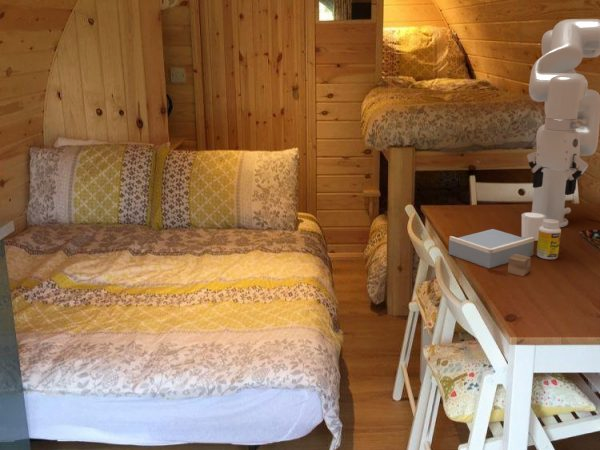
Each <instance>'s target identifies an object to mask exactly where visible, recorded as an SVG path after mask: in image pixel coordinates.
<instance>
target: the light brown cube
mask: <svg viewBox="0 0 600 450" xmlns="http://www.w3.org/2000/svg"><path fill="white" fill-rule="evenodd" d="M531 258H532V257H531V256H528V257H527V256H522V255H518V254H515V255H513V256H511V257H510V258H509V263H507V264H508V265H507V267H508V268H507V274H512V275H517V276H520V277H524V276H526V275H527V274H528V273H530V268H531Z"/></svg>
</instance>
